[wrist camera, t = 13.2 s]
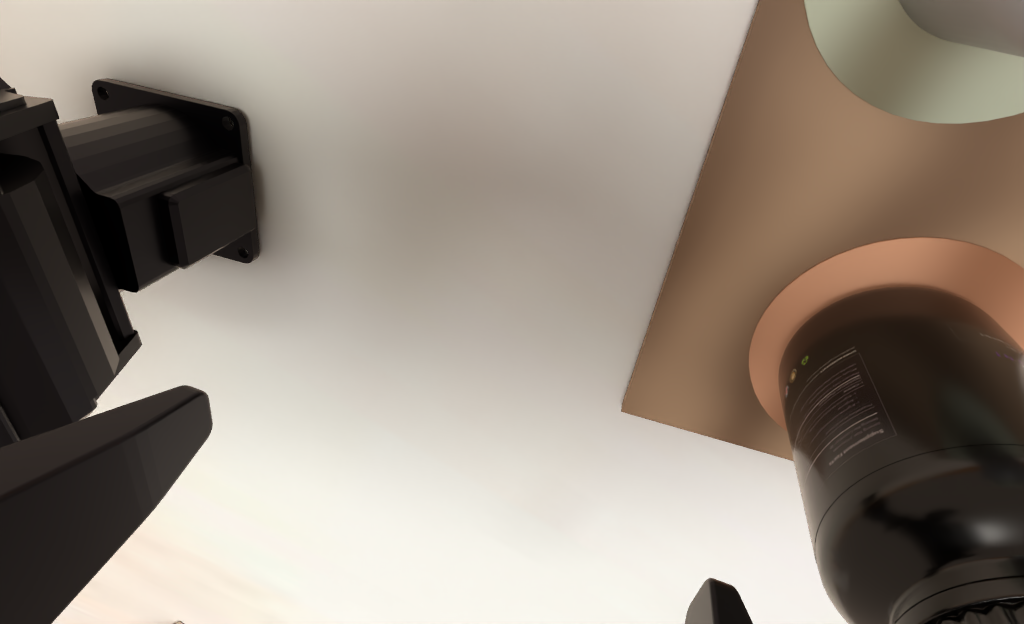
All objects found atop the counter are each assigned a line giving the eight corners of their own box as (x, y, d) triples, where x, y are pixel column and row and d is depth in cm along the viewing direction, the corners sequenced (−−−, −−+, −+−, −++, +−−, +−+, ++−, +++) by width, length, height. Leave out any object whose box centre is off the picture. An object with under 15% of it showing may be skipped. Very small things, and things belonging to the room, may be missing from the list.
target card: (622, 404, 24) (621, 413, 23) (880, -358, 12) (889, -374, 12) (935, 493, 22) (940, 504, 22) (1586, -294, 10) (1632, -308, 10)
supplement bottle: (1055, 310, 17) (1575, 767, 7) (930, 464, 21) (1160, 909, 11) (823, 253, 18) (998, 588, 8) (743, 410, 22) (795, 774, 12)
